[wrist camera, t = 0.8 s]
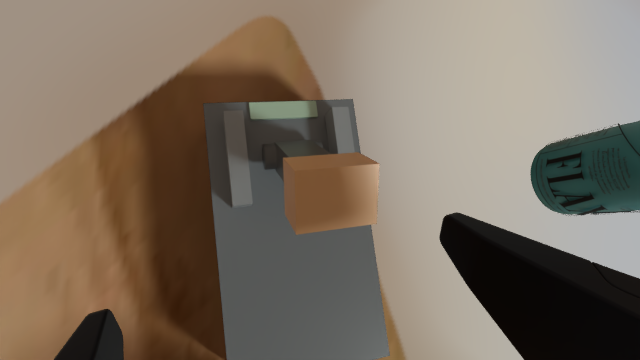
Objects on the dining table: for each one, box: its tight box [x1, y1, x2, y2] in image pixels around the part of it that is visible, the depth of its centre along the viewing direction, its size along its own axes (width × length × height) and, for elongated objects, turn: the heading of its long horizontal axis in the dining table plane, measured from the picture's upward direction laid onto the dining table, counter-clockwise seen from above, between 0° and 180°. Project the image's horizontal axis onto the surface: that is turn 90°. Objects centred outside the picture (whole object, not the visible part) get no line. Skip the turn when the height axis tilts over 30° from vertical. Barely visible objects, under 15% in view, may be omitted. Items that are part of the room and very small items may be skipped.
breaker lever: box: [262, 140, 380, 235], centre depth 17 cm, size 2×3×8 cm
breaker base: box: [203, 99, 390, 360], centre depth 22 cm, size 16×9×6 cm, turn 8°
